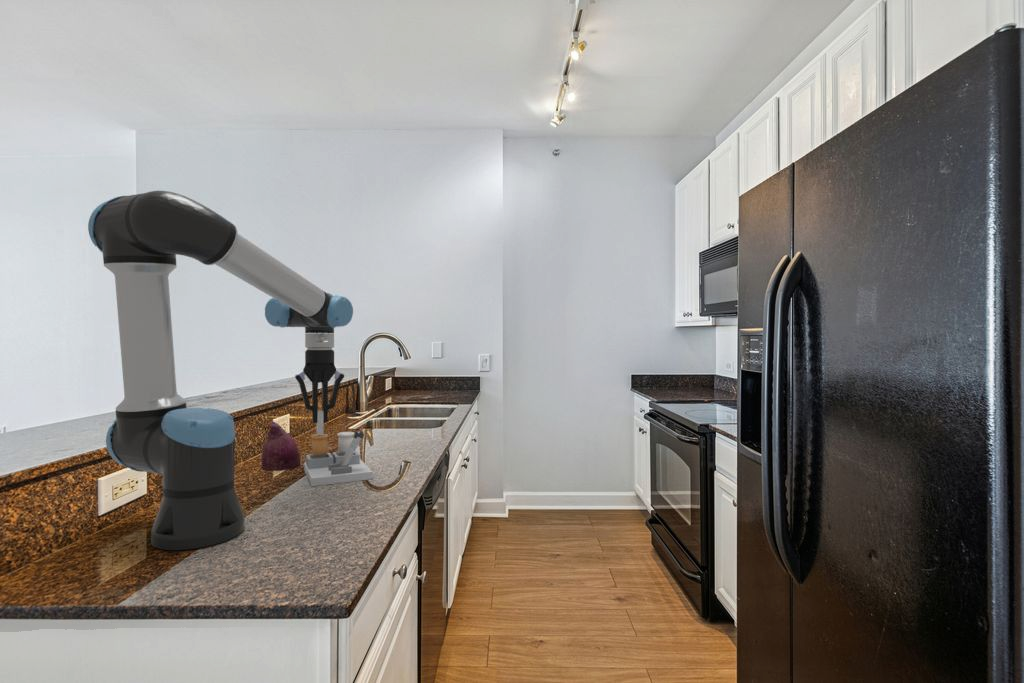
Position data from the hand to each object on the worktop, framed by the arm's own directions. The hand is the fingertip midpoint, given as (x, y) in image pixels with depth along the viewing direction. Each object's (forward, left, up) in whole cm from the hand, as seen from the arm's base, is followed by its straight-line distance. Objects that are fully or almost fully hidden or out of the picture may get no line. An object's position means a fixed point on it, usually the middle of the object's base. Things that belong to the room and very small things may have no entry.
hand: (319, 434), depth 143 cm
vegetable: (-9, +12, -11) cm, 18 cm away
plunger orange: (0, 0, -5) cm, 5 cm away
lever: (+4, -9, -9) cm, 13 cm away
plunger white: (+7, 0, -5) cm, 9 cm away
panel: (+4, -4, -11) cm, 12 cm away
